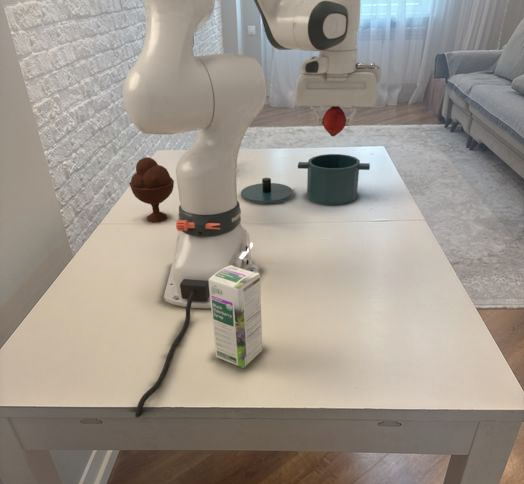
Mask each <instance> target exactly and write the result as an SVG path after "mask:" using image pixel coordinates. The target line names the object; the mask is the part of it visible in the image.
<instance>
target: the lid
mask: <svg viewBox="0 0 524 484" xmlns="http://www.w3.org/2000/svg"><path fill="white" fill-rule="evenodd" d="M293 194H294V190H293V188H292V187H291V186H288V185H286V184H282V183H277V182H272V179H271V178H270V177H263V178H261V183H255V184H251V185H247V186H246V187H244V188H243V189H241V191H240V196H241V198H242V199H244V200H246V201H248V202H251V203H257V204H271V203H272V204H273V203H279V202H284V201H286V200H288V199H290V198H292V196H293Z"/></svg>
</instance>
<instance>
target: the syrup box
mask: <svg viewBox="0 0 524 484" xmlns="http://www.w3.org/2000/svg"><path fill="white" fill-rule="evenodd" d="M208 281H209V292H210V301H211V308H210V309H211V317H212V318H211V319H212V327H213V338H214V348H215V357H216V359H220V360H223V361H225V362H227V363H230V364H232V365H234V366H237V367H239V368H242V369H244V368H246V366H248V365H249V364H250V363H251V362H252V361H253V360H254V359H256V357H257V356H258V355H260V354H261V353H262V352H263V327H262V297H261V293H262V292H261V272H259V273H254V272H251V271H248V270H245V269H241V268H238V267H235V266H232V265H230V266H228V267H225V268H224V269H222V270H220V271H219V272H217V273H216V274H214V275H213V276H212V277H211V278H209V280H208Z"/></svg>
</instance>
